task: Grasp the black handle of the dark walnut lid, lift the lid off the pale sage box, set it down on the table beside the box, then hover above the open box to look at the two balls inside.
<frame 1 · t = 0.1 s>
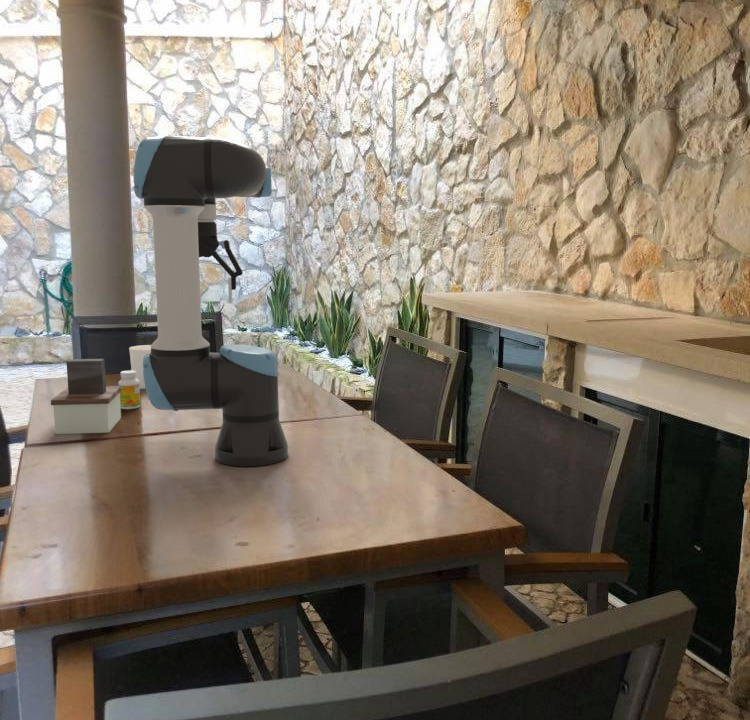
hand: (204, 302, 199), 28 cm above the table, fingers open, 13 cm apart
walnut lid: (87, 397, 181), point 7 cm above the table, touching sage box
candle holder: (147, 386, 229), on the table
terracotta ball: (92, 418, 179), point 2 cm above the table, touching sage box
sage box: (89, 425, 182), on the table
ivory ball: (83, 412, 184), point 2 cm above the table, touching sage box
supplement bottle: (130, 407, 201), on the table
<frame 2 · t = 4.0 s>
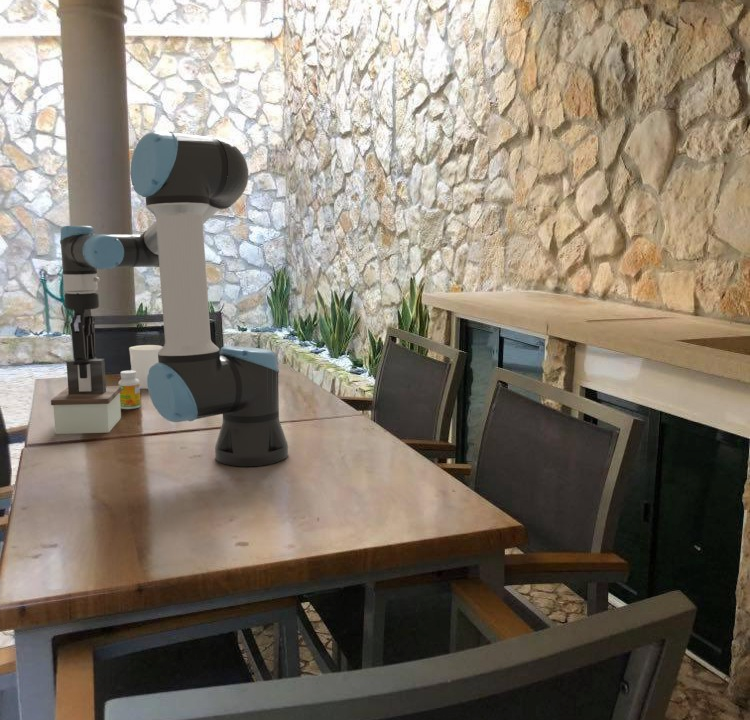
hand: (87, 389, 180), 9 cm above the table, fingers closed on walnut lid, 3 cm apart
walnut lid: (87, 397, 181), point 7 cm above the table, touching gripper, sage box
everything else where it was.
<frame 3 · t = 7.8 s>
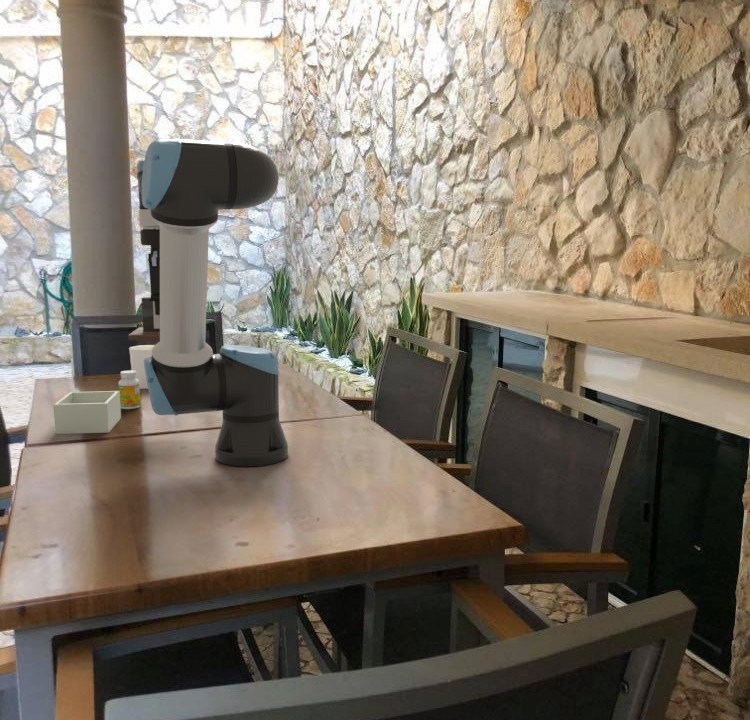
hand: (161, 327, 180), 24 cm above the table, fingers closed on walnut lid, 3 cm apart
walnut lid: (161, 335, 180), point 22 cm above the table, touching gripper
everything else where it was.
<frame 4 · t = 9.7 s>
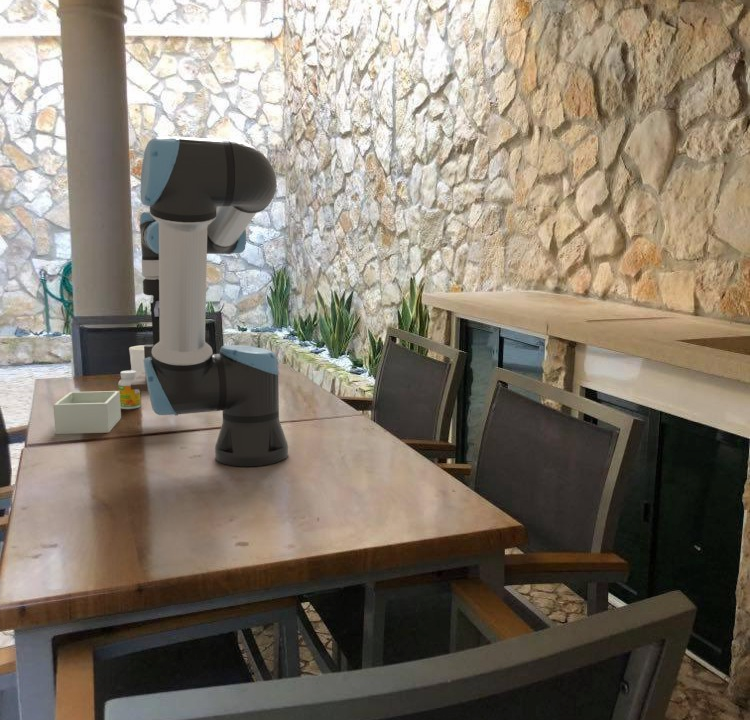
hand: (163, 374, 182), 12 cm above the table, fingers closed on walnut lid, 3 cm apart
walnut lid: (163, 382, 183), point 10 cm above the table, touching gripper
everything else where it was.
when the fingers open (5 cm above the table, at t = 11.4 s): walnut lid drops 2 cm, point 1 cm above the table.
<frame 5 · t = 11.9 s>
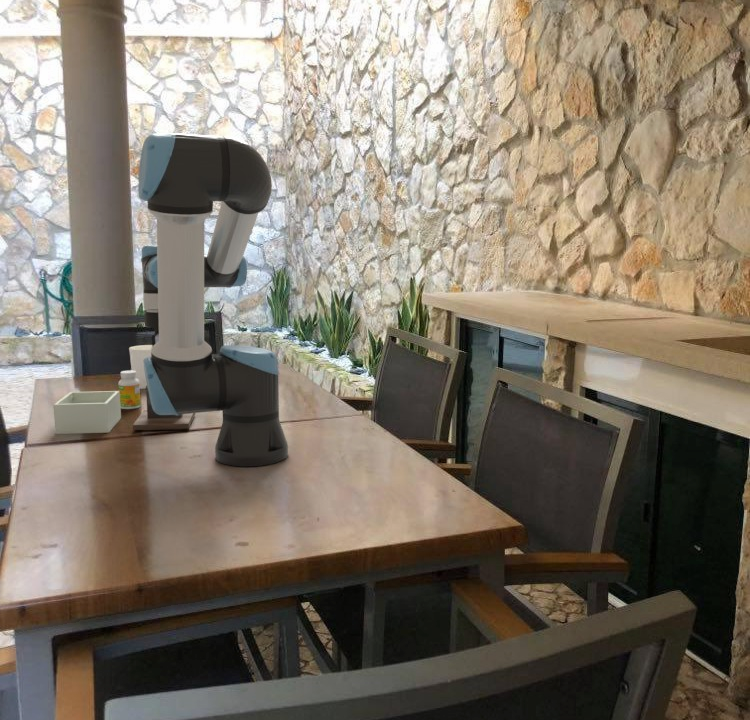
hand: (164, 400, 183), 6 cm above the table, fingers open, 10 cm apart
walnut lid: (165, 421, 184), point 1 cm above the table
everything else where it was.
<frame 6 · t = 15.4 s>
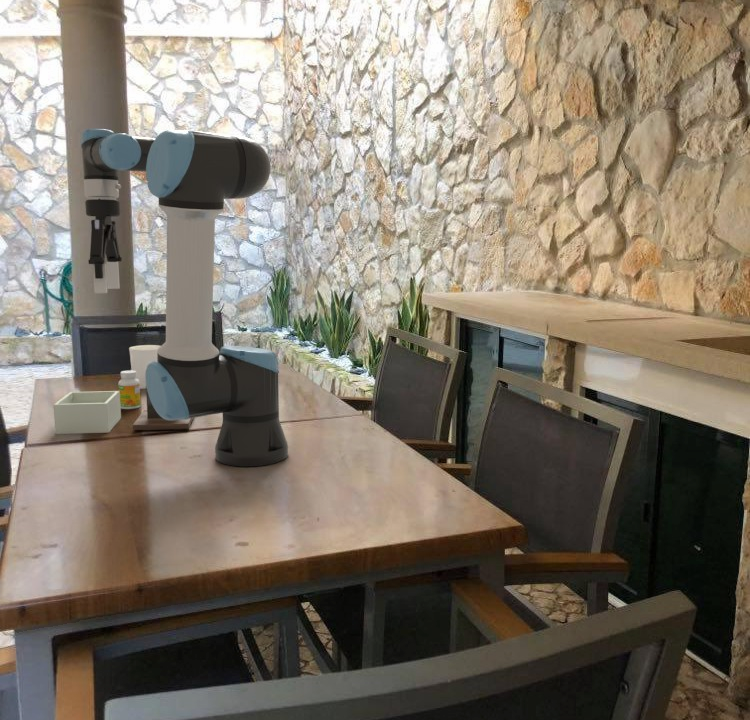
hand: (107, 290, 177), 33 cm above the table, fingers open, 13 cm apart
nothing on the table moved.
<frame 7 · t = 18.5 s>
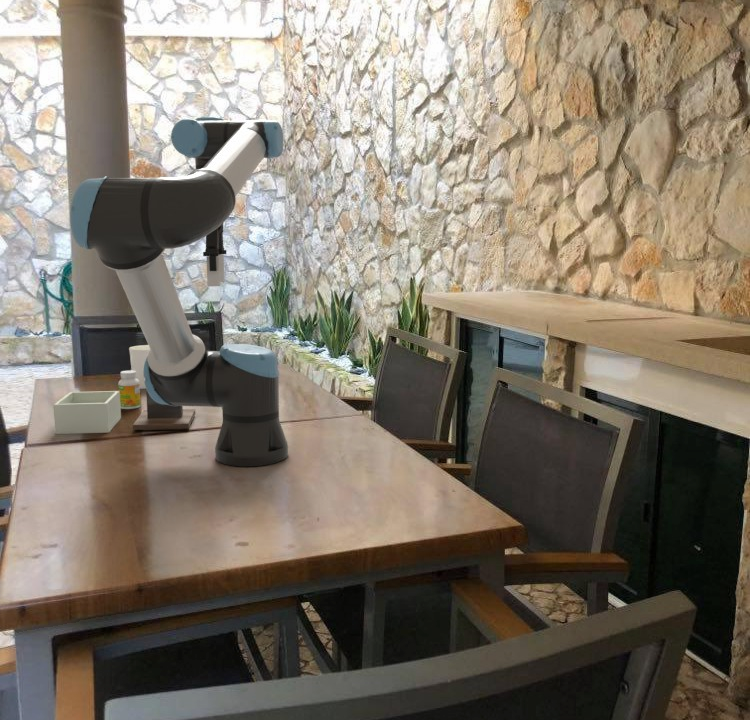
hand: (216, 284, 172), 35 cm above the table, fingers open, 13 cm apart
nothing on the table moved.
at the end: walnut lid inside the target area (0.1 cm from its centre), point 0.6 cm above the table; walnut lid tilted 0°; the gripper is holding nothing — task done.
